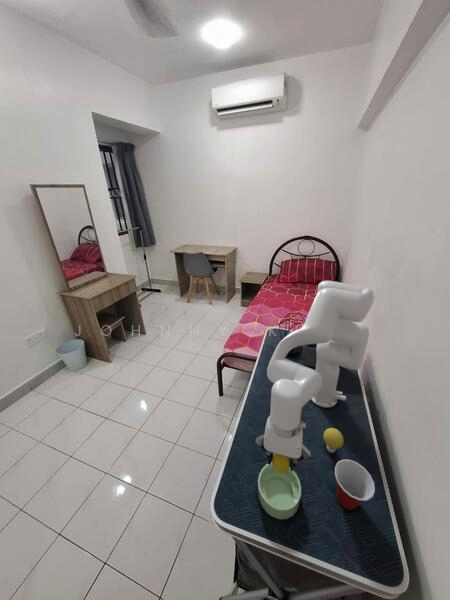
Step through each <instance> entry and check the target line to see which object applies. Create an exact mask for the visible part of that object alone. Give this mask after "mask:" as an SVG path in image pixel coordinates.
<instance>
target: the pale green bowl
mask: <svg viewBox="0 0 450 600" xmlns="http://www.w3.org/2000/svg"><path fill="white" fill-rule="evenodd" d="M257 497H258V500H259V503H260V505H261V507H262V508H263V510H264V511H265V513H267V514H268V515H270V516H271V517H272V518H275V519H278V520H288V519H289V518H291V517H294V515H295V514H296V513H297V512H298V510H299V507H300V504H301V503H300V502H301V497H302V486H301V481H300V478H299V477H298V475H297V472H295V471H294V470H293V472H292V471H291V470H290V468H289V470H288V471H286V472H284V473H281V472H278V471H277V470H275V468H274V467H273V465H272V462H271V464H270V465H269V464H268V463H266V464H265V465H264V466H263V467H262V468H261V470H260V472H259V474H258V478H257Z"/></svg>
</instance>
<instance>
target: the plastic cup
mask: <svg viewBox="0 0 450 600" xmlns="http://www.w3.org/2000/svg"><path fill="white" fill-rule="evenodd" d="M334 477H335V482H336V483H335V485H336V486H335V487H336V489H335V490H336V499H337V500H338V503H339V504H340V505H341V507H343V508H345V509H347V510H354V509H357V507H359V506H360V505H361V504H362V503H363V502H364V501H369V500H370V499H372V498H373V497H374V494H375V491H376V486H375V482H374V480H373V477H372V475H371V474H370V472H368V470H367V469H366V468H365V466H363V465H361V464H360V463H358V462H357V461H355V460H351V459H341V460H338V461H337V462H336V464H335V466H334Z"/></svg>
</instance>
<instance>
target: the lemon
mask: <svg viewBox="0 0 450 600" xmlns="http://www.w3.org/2000/svg"><path fill="white" fill-rule="evenodd" d="M271 463H272V465H273V467H274V468H275V470H277V471H278V472H281V473H284V472H286V471H288V470H289V468H290V466H291V457H288V456H284V455H280V454H277V453H274V452H272V460H271Z"/></svg>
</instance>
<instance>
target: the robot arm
mask: <svg viewBox="0 0 450 600" xmlns="http://www.w3.org/2000/svg"><path fill="white" fill-rule="evenodd" d="M317 285H318V286H317V293H316V295H315V297H314V299H313V301H312V304H311V306H310V308H309V311H308V314H307V316H306V318H305V321H304V323H303V324H302V326H301V328H298V329H296V330H294V331H293V332H292V331H291V332H290V333H289V334H287V335H286V336H284V337H283V339H281V340H280V341H279V343H278V344H277V345H276V347H275V349H274V352H273V354H272V356H271V358H270V360H269V362H268V365H267V369H266V376H267V379H268V380H269V381H270V382H271V383H273V385H272V387H271V393H270V414H269V416H267V420H266V423H265V428H264V433H263V434H261V435H258V436H257V437H256V438H255V443H256V444H257V445H258V446H259V447H260V448H261V450H262V451H264V452H265V455H266V460H268V463H267V464H269V465H270V464H271V463H272V454H273V452H274V453H277V454H280V455H284V456H288V457H291V466H290V470H291V471H292V472H293V471H294V468H296V467H297V464H298V462H300V461H304V460H305V459H306V460H307V459H310V458H311V457H312V455H311V454H312V453H311V450H309V449H308V448H307V447H306V445H304V444H303V438H304V437H303V436H304V433H303V432H304V430H303V429H306V426H307V423H306V422H304V421H302V419H301V417H302V409H303V407H304V406H306V404H307V403H308V402H310V401H311V402H312V403H313V404H315V405H317V406H318V407H321V408H333V407H335V406H336V404H337V403H338V400H341V401H344V402H346V401H347V396H346V395H343V391H338V390H337V385H338V381H339V376H340V367H342V368H345V369H347V370H350V371H351V370H352V371H359V369H361V367H362V366H363V365H362V364H363V362H364V358H365V355H366V351H367V346H368V342H369V337H370V330H369V327H368V326H367V325H366V324H364V323H362V322H363V321H364V319H366V317H367V315H368V314H369V312H370V310H371V308H372V306H373V304H374V299H375V295H374V294H375V293H374V291H373V290H372V289H371V288H370V287H366V286H361V285H356V284H349V283H346V282H339V281H333V280H322V281H321V282H319V283H318V284H317ZM307 344H317V347H316V354H317V362H316V367H315V369H314V368H310V367H309V366H307V365H303V364H301V363H298V362H295V361H293V360H290V359H288V358H286V357H287V355H288V354H289V352H290V351H292V350H293V349H295V348H297V347H300V346H301V347H302V345H307Z"/></svg>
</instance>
